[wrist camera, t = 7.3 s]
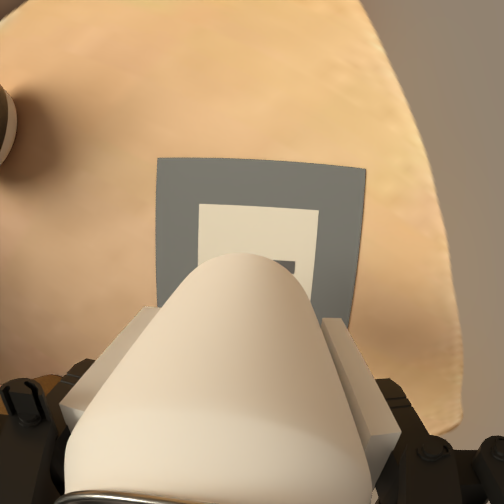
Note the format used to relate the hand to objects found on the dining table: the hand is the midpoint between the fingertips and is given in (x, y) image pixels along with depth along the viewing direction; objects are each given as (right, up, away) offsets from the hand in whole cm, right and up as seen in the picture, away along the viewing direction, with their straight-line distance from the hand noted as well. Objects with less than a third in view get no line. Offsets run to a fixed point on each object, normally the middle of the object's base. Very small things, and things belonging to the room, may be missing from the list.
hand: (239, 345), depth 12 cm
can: (0, +1, +3) cm, 3 cm away
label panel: (0, -4, +14) cm, 15 cm away
